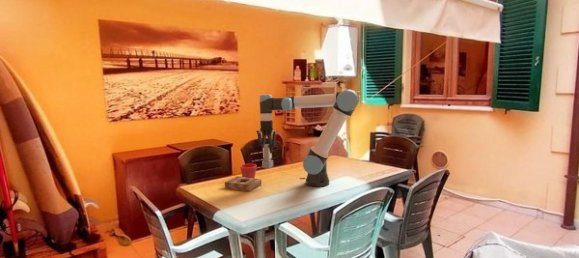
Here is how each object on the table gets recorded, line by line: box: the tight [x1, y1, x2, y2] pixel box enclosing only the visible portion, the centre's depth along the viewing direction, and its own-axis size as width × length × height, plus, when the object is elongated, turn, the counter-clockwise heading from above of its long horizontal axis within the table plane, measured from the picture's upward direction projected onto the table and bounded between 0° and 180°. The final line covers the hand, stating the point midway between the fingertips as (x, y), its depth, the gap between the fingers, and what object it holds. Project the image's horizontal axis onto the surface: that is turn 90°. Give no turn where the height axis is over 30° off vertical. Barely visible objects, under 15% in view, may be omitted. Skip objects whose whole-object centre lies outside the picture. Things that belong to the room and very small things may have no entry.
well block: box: [224, 176, 262, 192], centre depth 215 cm, size 18×14×4 cm
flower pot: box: [239, 163, 257, 179], centre depth 232 cm, size 11×11×10 cm
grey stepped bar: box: [261, 143, 274, 169], centre depth 213 cm, size 5×5×14 cm
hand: (267, 157), depth 213 cm, fingers closed on grey stepped bar, 3 cm apart
